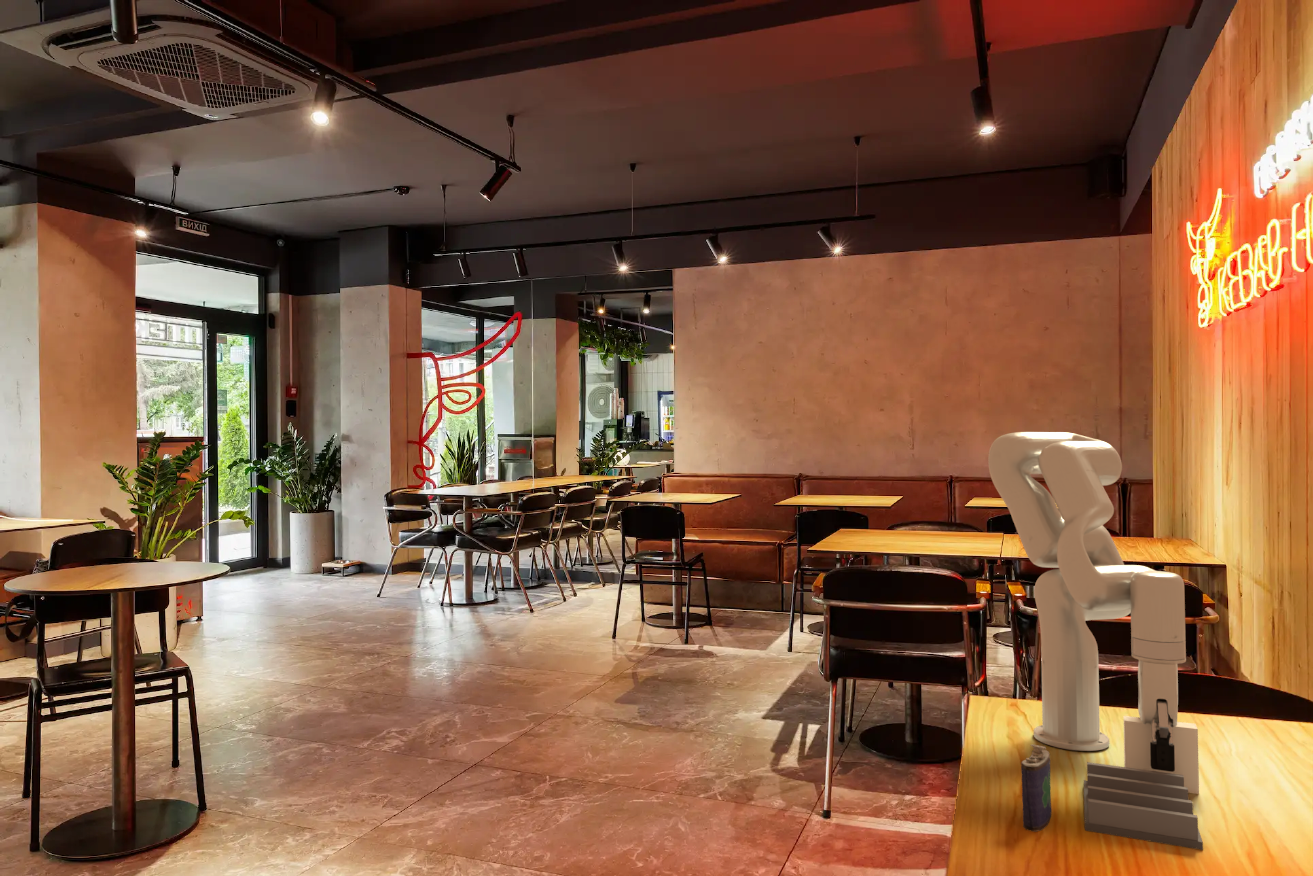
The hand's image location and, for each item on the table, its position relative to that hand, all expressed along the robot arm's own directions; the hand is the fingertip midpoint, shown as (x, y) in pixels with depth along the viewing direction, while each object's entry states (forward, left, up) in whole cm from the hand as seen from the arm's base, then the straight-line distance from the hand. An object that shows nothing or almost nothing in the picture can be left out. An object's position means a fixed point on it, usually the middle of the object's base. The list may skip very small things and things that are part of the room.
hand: (1160, 761), depth 136 cm
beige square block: (0, 0, -4) cm, 4 cm away
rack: (+15, -4, -4) cm, 16 cm away
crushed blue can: (+23, -17, -4) cm, 29 cm away
